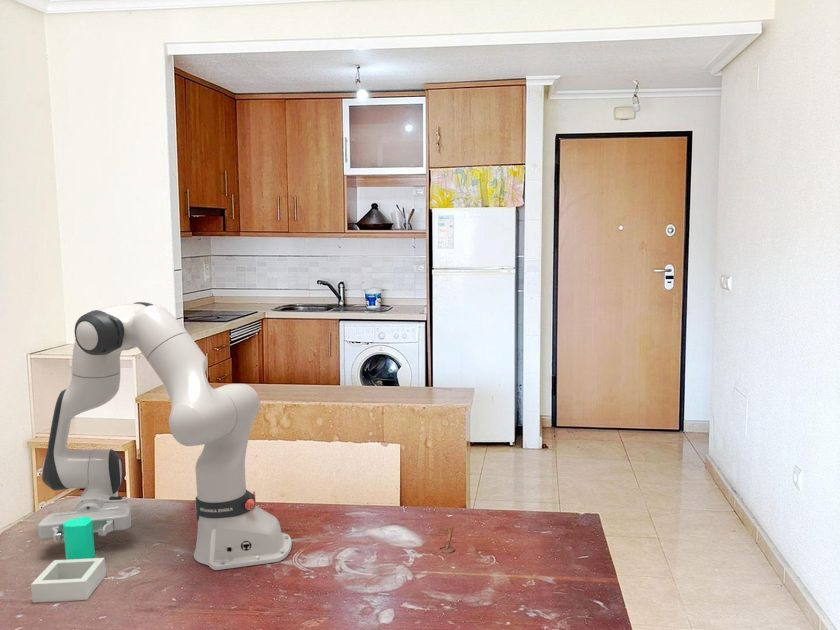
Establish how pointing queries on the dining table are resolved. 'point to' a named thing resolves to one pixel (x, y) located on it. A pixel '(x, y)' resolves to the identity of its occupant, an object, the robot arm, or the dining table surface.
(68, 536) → the candle
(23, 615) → the dining table surface
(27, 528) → the dining table surface
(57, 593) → the frame
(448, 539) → the key
